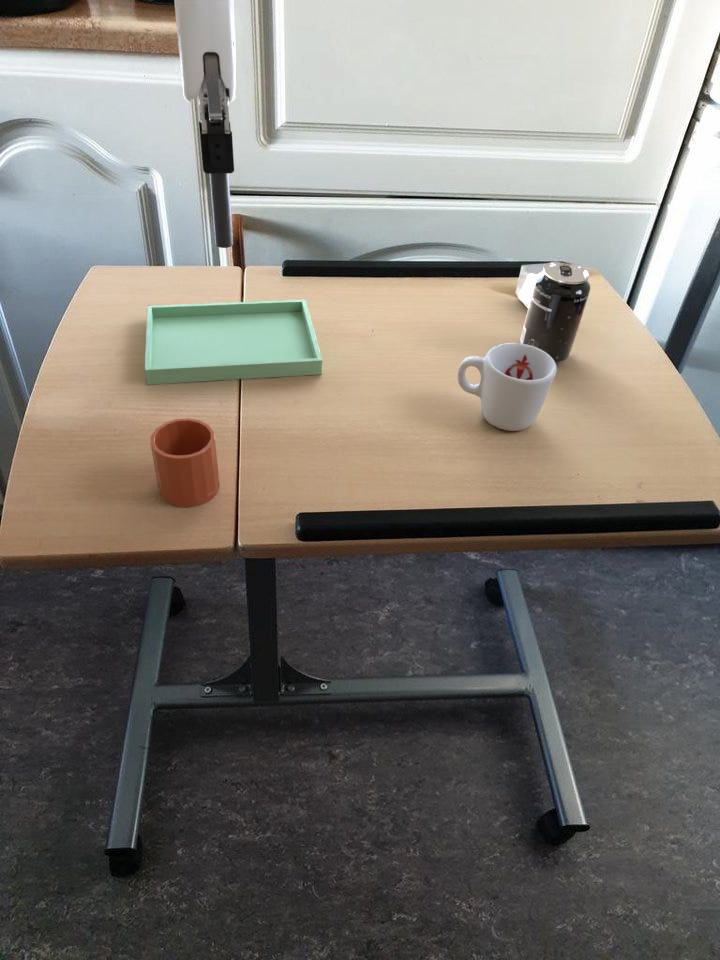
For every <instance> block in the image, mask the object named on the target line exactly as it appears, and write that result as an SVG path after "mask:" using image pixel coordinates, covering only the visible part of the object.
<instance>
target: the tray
mask: <svg viewBox="0 0 720 960" xmlns="http://www.w3.org/2000/svg"><path fill="white" fill-rule="evenodd" d="M145 327H146V329H145V330H146V331H145V349H144V350H145V351H144V354H145V355H144V376H145V382H146V385H147V386H149V385H163V384H164V385H165V384H181V383H200V382H216V381H217V382H219V381H231V380H249V379H250V380H251V379H267V378H285V377H299V376H300V377H302V376H320V375H323V358H322V354H321V351H320V347H319V344H318V340H317V336H316V332H315V329H314V325H313V322H312V319H311V314H310V311H309V308H308V304H307V301H306V299H288V300H285V299H284V300H262V301H236V302H235V301H233V302H211V303H210V302H209V303H207V302H206V303H182V304H163V305H162V304H159V305H158V304H157V305H147V306H146V326H145Z"/></svg>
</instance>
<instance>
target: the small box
mask: <svg viewBox="0 0 720 960" xmlns="http://www.w3.org/2000/svg"><path fill="white" fill-rule="evenodd" d="M548 263H549V262H547V263H533V264H521V267H520V271H519V275H518V279H517V284H516V288H515V292H514V293H515V296H516V297H517V298H518V299H519V301H520V302H521V303H522V304H524V306H525V307H526V308H527V309H528V307H529V303H530V299H531V295H532V291H533V287H534V283H535V280H536V277H537V275H538V274H540V273H541V272H543V269H544V266H545V265H546V264H548Z"/></svg>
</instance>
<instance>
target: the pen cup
mask: <svg viewBox="0 0 720 960" xmlns="http://www.w3.org/2000/svg"><path fill="white" fill-rule="evenodd" d="M150 448H151V449H150V450H151V454H152V455H151V456H152V461H153V466H154V471H155V476H156V481H157V487H158V491H159V495H160V496H161V498H162V499H163V500H164V501H165V502H167V503H168V504H170V505H172V506H175V507H178V508H193V507H197V506H201V505H203V504H206V503H207V502H209V501H210V500H212V499H214V497H215V496H216V495H217V493H218V492H219V490H220V473H219V464H218V455H217V445H216V436H215V431H214V429H213V428H212V426H211V425H210V424H208V423H207V422H204V421H202V420H200V419H195V418H190V417H183V418H174V419H171V420H169V421H165V422H164V423H161V425H159V426H157V427H155V428H154V430H153V432H152V433H151V435H150Z"/></svg>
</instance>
